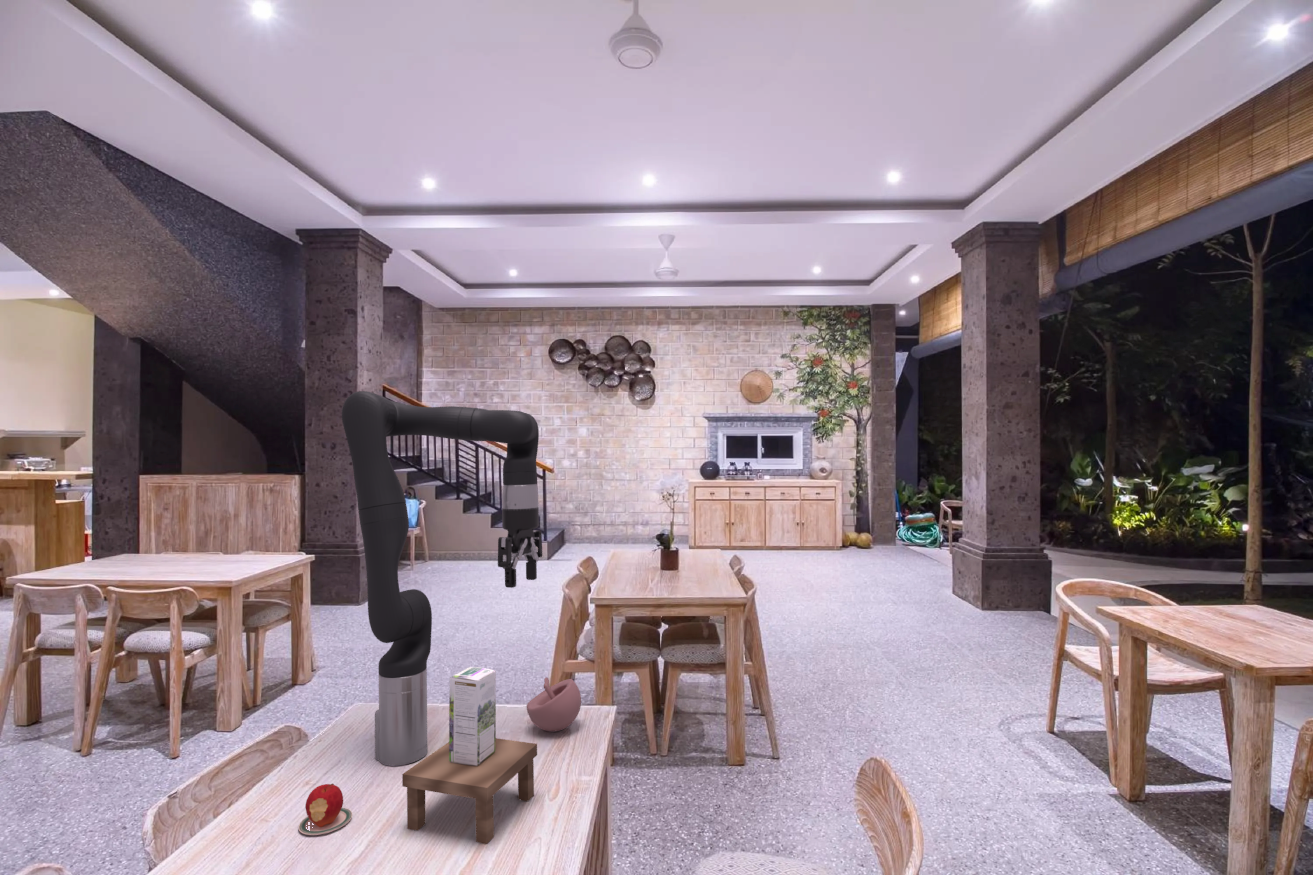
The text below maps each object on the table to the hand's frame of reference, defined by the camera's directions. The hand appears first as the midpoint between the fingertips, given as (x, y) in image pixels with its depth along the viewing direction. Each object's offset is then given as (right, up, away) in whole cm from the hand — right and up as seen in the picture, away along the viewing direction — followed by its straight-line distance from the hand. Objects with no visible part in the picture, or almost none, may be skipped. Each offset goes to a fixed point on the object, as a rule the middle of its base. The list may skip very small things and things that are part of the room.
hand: (521, 583), depth 135 cm
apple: (-27, -34, -28) cm, 52 cm away
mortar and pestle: (+6, -35, +8) cm, 36 cm away
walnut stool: (-3, -33, -25) cm, 42 cm away
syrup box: (-3, -25, -24) cm, 35 cm away
